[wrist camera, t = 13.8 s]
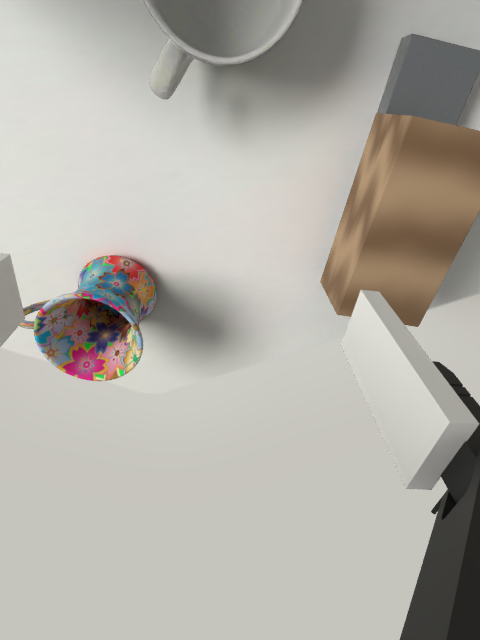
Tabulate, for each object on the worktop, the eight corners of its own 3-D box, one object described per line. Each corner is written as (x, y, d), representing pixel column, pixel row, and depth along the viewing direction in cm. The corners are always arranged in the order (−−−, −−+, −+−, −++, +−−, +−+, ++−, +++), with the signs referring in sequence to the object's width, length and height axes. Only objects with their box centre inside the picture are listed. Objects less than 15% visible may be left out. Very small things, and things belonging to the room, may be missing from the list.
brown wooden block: (376, 113, 30) (412, 115, 24) (461, 132, 31) (517, 139, 25) (320, 281, 38) (337, 314, 32) (389, 292, 39) (418, 326, 33)
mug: (163, 255, 38) (143, 301, 29) (160, 326, 43) (141, 386, 34) (47, 239, 37) (-11, 283, 28) (57, 315, 42) (10, 373, 33)
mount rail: (402, 37, 29) (429, 27, 25) (472, 55, 30) (509, 48, 26) (322, 278, 40) (332, 297, 36) (374, 287, 41) (390, 306, 37)
